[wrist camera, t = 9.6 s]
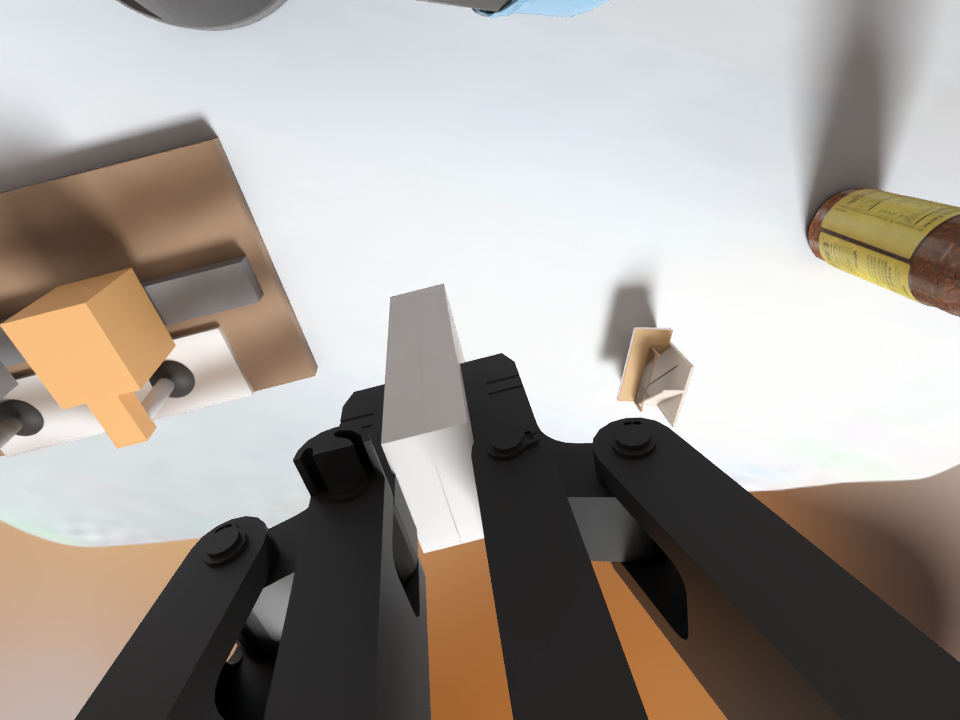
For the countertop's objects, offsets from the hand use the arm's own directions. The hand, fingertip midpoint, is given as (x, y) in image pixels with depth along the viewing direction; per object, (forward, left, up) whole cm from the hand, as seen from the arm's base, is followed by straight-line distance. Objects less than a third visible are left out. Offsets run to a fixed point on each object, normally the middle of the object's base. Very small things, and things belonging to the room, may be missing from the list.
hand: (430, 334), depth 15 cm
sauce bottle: (+12, +32, -27) cm, 43 cm away
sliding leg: (+6, -22, -24) cm, 33 cm away
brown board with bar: (+4, -25, -26) cm, 37 cm away
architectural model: (+20, +15, -27) cm, 37 cm away
